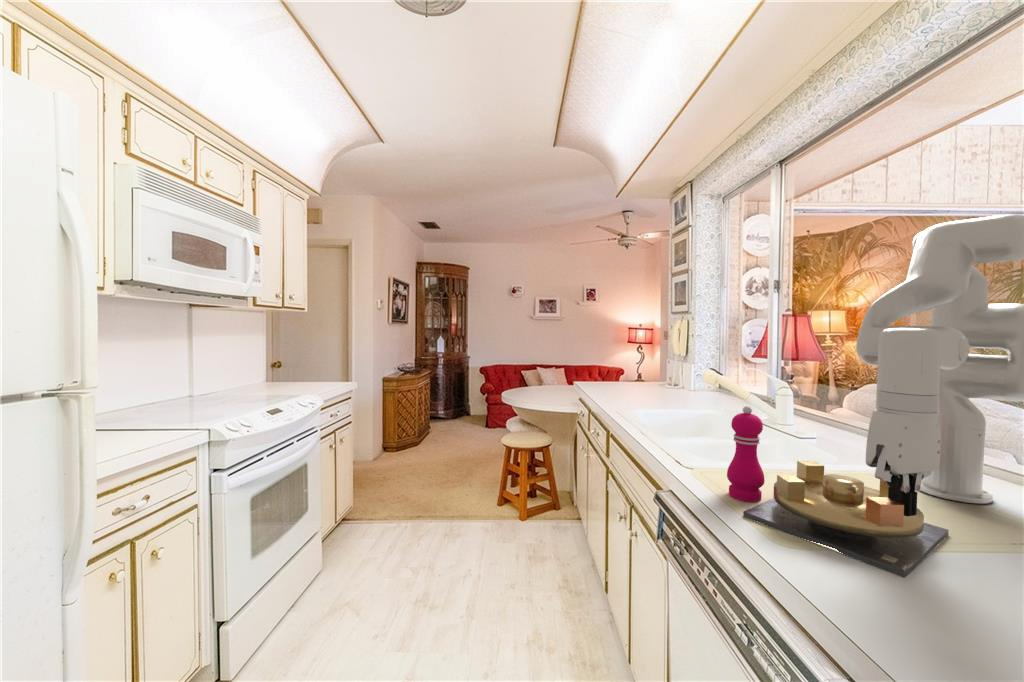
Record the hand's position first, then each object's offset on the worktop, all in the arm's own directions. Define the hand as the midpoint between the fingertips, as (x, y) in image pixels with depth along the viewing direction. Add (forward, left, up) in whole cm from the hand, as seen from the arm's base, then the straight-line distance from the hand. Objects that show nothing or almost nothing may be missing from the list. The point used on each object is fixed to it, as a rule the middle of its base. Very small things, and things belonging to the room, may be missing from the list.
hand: (901, 512), depth 70 cm
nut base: (-3, -9, -7) cm, 12 cm away
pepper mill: (-1, -26, -7) cm, 27 cm away
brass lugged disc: (-3, -9, -4) cm, 10 cm away
